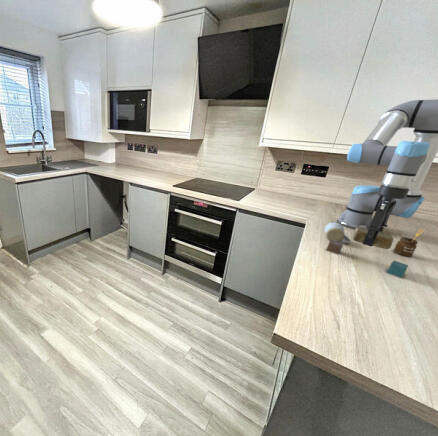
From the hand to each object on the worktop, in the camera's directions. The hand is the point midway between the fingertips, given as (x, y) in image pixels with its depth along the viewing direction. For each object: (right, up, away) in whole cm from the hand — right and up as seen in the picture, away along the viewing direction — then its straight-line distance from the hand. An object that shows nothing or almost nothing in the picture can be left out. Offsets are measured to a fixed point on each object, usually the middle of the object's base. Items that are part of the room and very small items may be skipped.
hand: (370, 242), depth 93 cm
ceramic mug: (+4, -1, +22) cm, 22 cm away
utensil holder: (+25, -6, +12) cm, 29 cm away
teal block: (+5, -11, -4) cm, 13 cm away
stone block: (0, 0, 0) cm, 1 cm away
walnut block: (-6, -5, +11) cm, 13 cm away
